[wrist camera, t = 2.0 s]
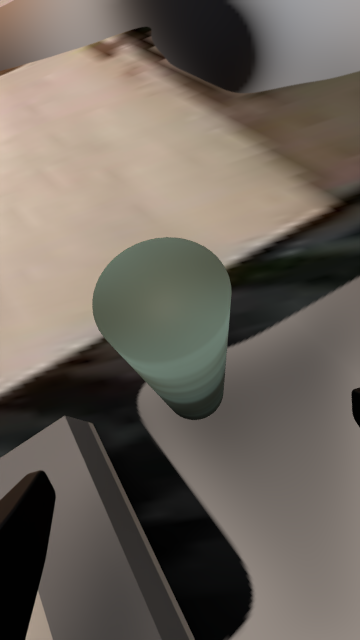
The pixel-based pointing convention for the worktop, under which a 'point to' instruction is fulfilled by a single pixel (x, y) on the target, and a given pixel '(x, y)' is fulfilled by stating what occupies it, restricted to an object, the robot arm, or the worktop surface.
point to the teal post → (169, 320)
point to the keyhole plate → (92, 546)
